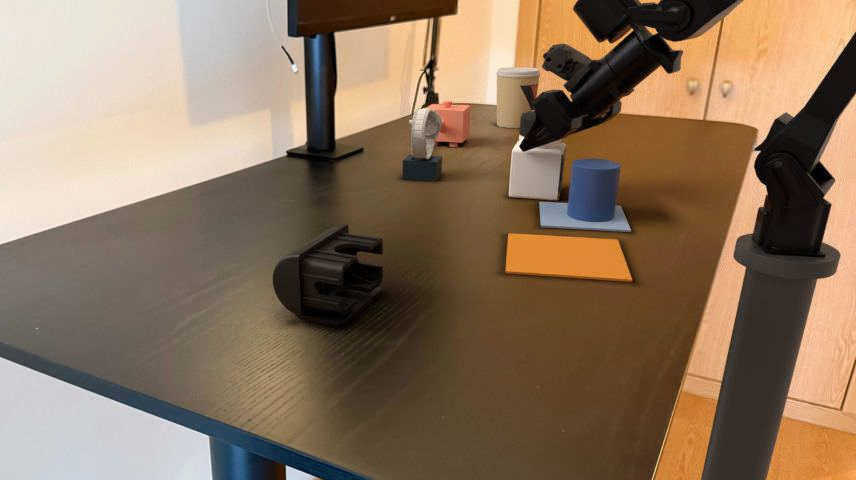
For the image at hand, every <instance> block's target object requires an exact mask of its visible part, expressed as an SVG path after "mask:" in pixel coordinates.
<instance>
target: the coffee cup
mask: <svg viewBox="0 0 856 480" xmlns="http://www.w3.org/2000/svg"><path fill="white" fill-rule="evenodd" d="M495 75H496V126H498V127H500V128H507V129H520V119H521V116H522V115H523V114H524V113H526V112H529V111H534V109H533V104H532V101H533V100H534V99H535V98H537V97H538V90H539V89H538V88H539V83H540V82H539V81H540V77H541V72H540V69H539V68H536V67H535V68H534V67H525V66H524V67H523V66H522V67H521V66H520V67H519V66H518V67H517V66H516V67H515V66H513V67H511V66H510V67H500V68H498V69H497V71H496V74H495Z"/></svg>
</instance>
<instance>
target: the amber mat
mask: <svg viewBox="0 0 856 480" xmlns="http://www.w3.org/2000/svg"><path fill="white" fill-rule="evenodd" d="M506 245H507V246H506V258H505V259H506V261H505V274H508V275H509V274H510V275H523V276H524V275H525V276H537V277H552V278H568V279H580V280H597V281H611V282H624V283H625V282H626V283H633V277H632V275H631V271H630V269H629V266H628V264H627V261H626V258H625V255H624V252H623V250H622V247H621V243H620V241H619V239H618V238H617V239H616V238H599V237H581V236H579V237H578V236H567V235H566V236H564V235H547V234H545V235H544V234H528V233H513V232H511V233H510V232H508V233H507V244H506Z"/></svg>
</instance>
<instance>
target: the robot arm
mask: <svg viewBox="0 0 856 480" xmlns="http://www.w3.org/2000/svg"><path fill="white" fill-rule="evenodd" d="M744 1H745V0H659V2H658V3H656V2H655V1H651V2H641V1H640V0H576V2H575V4H574V5H573V7H572V10H573V12H574V13H575V15H576V16H577V17H578V18H579V19H580V21H581V22H582V23H583V25H584V26H585V27H586V29H587V30H588V32H590V34H591V35H592V36H593V38H594V39H595V40H596V41H597V43H599V44H600V43H603V42H605V41H607V42H608V43H609V44H614V43H616V42H618V41H619V40H620V39H622V38H623V39H622V40H621V41H619V42H618V43H617V44H616V45H615V46H614V47H612V49H611V50H610V51H608V53H606V54H605V55H604V56H603V57H601V58H599V59H591V58H590V56H588V55H586V54H584V53H583V52H581V51H579V50H577V49H576V48H574V47H572V46H571V45H568V44H566V43H557V44H552V45H551V46H550V47H549V49H548V50H547V51H545V52H543V54H542V58H543V59H544V61H543V62H542V64H541V69H543V70H544V71H546V72H551V73H553V74H554V75H556V76H557V77H559V78H561V79H562V80H564V81H566V82H565V83H563V84H562V86H563V87H564V89H565V90H566V91H567V93H570V95H569V97H568V96H567V94H566V93H565V92H564V89H554V88H553V89H550V90H545V91H542V92H541V93H540V94H539V95H537V97H536V98H535V99H534V100H533V101H532V104H533V109H534V111H535V113H536V119H535V121H534V123H533V125H532V126H531V128H530V129H529V131H528V133H527V134H526V136H525V137H524V139H523V140H522V142H521V144H520V145H519V147H520V149H521V150H522V151H523V152H525V151H528V150H531V149H534V148H537V147H540V146H543V145H546V144H549V143H551V142H554V141H557V140H560V139H562V140H563V139H566V138H568V137H569V136H572V135H574V134H577V133H580V132H583V131H586V130H589V129H592V128H594V127H598V126H600V125H603V124H605V123H606V122H608V121H611V120H613V118H615V117H616V116H617V115H619V114H620V113H621V112H622V104H623V103H622V99H623V98H625V97H628V96H630V95H631V94H632V93H634V91H635V89H634V88H636V87H637V86H638V85H639V84H640V83H642V82H643V81H644V80H646V79H647V78H648V77H649V76H650V75H652V74H653V73H654V72H655V71H656V70H657V69H659V68H660V67H661V68H663V70H664V71H665V72H666V73H667V74H668V75H671V74H675V73H678V72H680V71H681V68H682V57H683V55H684V50H683V49H673V48H672V47H671V45H670V44H669V43H668V42H667V41H669V42H674V43H677V42H682V41H683V42H684V41H688V40H692V39H696V38H699V37H702V36H703V35H705V34H706V33H707V32H709V30H711V29H712V28H713V27H715V26H716V25H718V23H720V22H721V21H722V20H723V19H725V18H726V17H727V16H728V15H729V14H731V12H732V11H734V10H735V9H736V8H737V7H738V6H739V5H740V4H741V3H743V2H744ZM648 28H651V29H655V31H656V32H657V33H654V34H653V33H652V32H651V31H650V30H649V29H648ZM630 31H631V32H630ZM629 32H630V33H629ZM624 36H625V37H624ZM855 97H856V31H855V32H854V33H853V35H852V36H851V38H850V39H849V40H848V42H847V44H846V45H845V46H844V48H843V49H842V51H841V52H840V53H839V55H838V56H837V58H836V60H834V63H832V65H831V67H830V68H829V70H828V71H827V73H826V74H825V75H824V77H823V79H822V80H821V81H820V83H819V84H818V86H817V87H816V89H815V90H814V91H813V93H812V95H811V96H810V97H809V99H808V100H807V102H806V104H804V106H803V107H802V108H801V109H800V110H799V111H798V112H797V113H796V114H795V115H794V116H793V115H791V114H790V113H788V112H787V111H786V112H784V113H782V114H781V115H779V116H778V117H776V118H775V119H774V120H773V122H772V124H771V126H770V128H769V131H768V132H767V135H766V137H765V139H763V141H762V142H761V143H760V144H758V145H757V146H756V147H754V152H759V153H758V154H757V155H756V157H755V160H754V163H753V169H754V173H755V176H756V178H757V179H758V180H759V182H760V183H761V184H762V185H764V186H765V188H766V193H767V194H765V197H764V202H763V206H759V207H758V208H757V211H756V212H757V213H756V218H755V222H754V226H753V231H752V233H753V235H752V239H753V240H754V241H755V242H756V243H757V245H758V246H759V247H760V248H761V249H762V250H763V251H764V253H766V254H771V255H788V256H805V257H822V258H824V257H825V256H826V253H825V252H824V251H823V250H822V249H821V245H822V242H823V240H824V237H825V233H826V229H827V225H828V220H829V217H830V213H831V210H832V209H831V208H832V205H833V203H831V202H830V201H828V200H827V199H826V198H825V197H826V195H827V194H828V193H829V191H830V190H831V189H832V187H833V186H834V184H835V183H836V178H835V177H834V176H833V175H832V174H831V172H830V171H829V170H828V169H827V167H826V166H825V165H824V164H823V163H822V162H821V161H820V160H821V159H822V156H823V154H824V153H825V151H826V148H827V146H828V144H829V142H830V139H831V138H832V135H833V134H834V133H833V132H834V131H835V129H836V126H837V124H838V121H839V119H840V117H841V116H842V114H843V113H844V112H845V110H846V109H847V107H848V106H849V105H850V103H851V102H852V100H854V98H855Z"/></svg>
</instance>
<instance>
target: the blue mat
mask: <svg viewBox="0 0 856 480" xmlns="http://www.w3.org/2000/svg"><path fill="white" fill-rule="evenodd" d="M538 204H539V205H538V206H539V221H540V228H543V229H547V228H548V229H562V230H563V229H564V230H565V229H566V230H581V231H583V230H584V231H600V232H616V233H617V232H618V233H620V232H621V233H632V229H631V226H630V224H629V222H628V220H627V217H626V215H625V213H624V210H623V208H622V205H618V204H616V206H615V213H614V218H613V219H612V220H609V221H604V222H587V221H581V220H576V219H573V218H571V217H569V216H568V215H567V209H568V202H556V201H555V202H554V201H553V202H551V201H539V203H538Z"/></svg>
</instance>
